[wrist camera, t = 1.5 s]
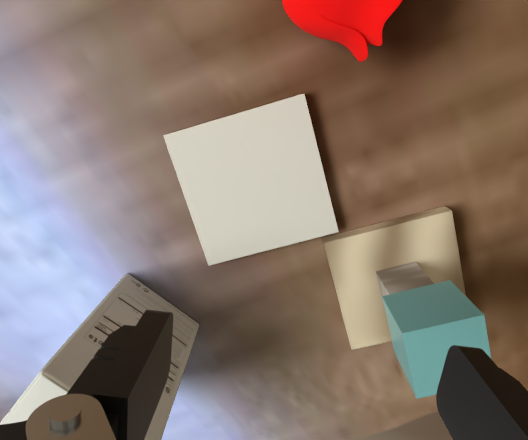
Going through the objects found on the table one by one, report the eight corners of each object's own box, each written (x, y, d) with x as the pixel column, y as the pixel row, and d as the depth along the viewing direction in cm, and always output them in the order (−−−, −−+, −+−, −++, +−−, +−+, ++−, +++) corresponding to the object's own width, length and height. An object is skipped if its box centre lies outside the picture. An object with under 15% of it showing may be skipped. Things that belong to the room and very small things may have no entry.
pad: (303, 93, 33) (304, 93, 32) (337, 228, 36) (338, 231, 35) (166, 134, 34) (163, 135, 33) (210, 261, 37) (208, 265, 36)
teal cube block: (449, 280, 29) (484, 314, 24) (460, 338, 30) (494, 382, 26) (381, 296, 30) (402, 333, 25) (394, 352, 31) (416, 398, 26)
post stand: (444, 206, 35) (521, 253, 24) (463, 314, 38) (539, 401, 27) (322, 237, 36) (341, 296, 25) (348, 340, 39) (377, 434, 28)
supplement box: (150, 383, 41) (82, 534, 27) (77, 333, 40) (-36, 463, 25) (203, 324, 39) (161, 453, 25) (128, 269, 38) (36, 371, 23)
